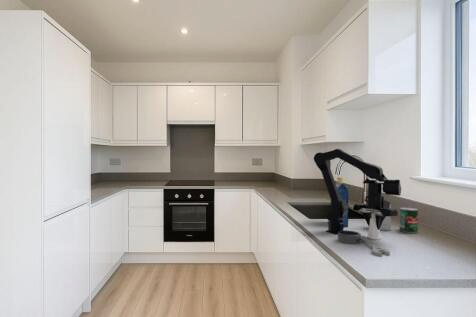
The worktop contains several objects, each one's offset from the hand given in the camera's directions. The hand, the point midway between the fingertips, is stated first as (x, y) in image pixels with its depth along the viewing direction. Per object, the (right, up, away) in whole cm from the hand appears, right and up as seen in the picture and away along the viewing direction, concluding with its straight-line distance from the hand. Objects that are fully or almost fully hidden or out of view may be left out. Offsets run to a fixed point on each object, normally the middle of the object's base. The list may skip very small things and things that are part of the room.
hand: (374, 228), depth 139 cm
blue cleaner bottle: (-7, -4, +27) cm, 28 cm away
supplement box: (+11, -4, +18) cm, 22 cm away
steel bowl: (-13, -4, -5) cm, 15 cm away
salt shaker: (0, -4, 0) cm, 4 cm away
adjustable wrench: (-6, -5, -13) cm, 15 cm away
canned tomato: (+23, -4, +13) cm, 26 cm away
